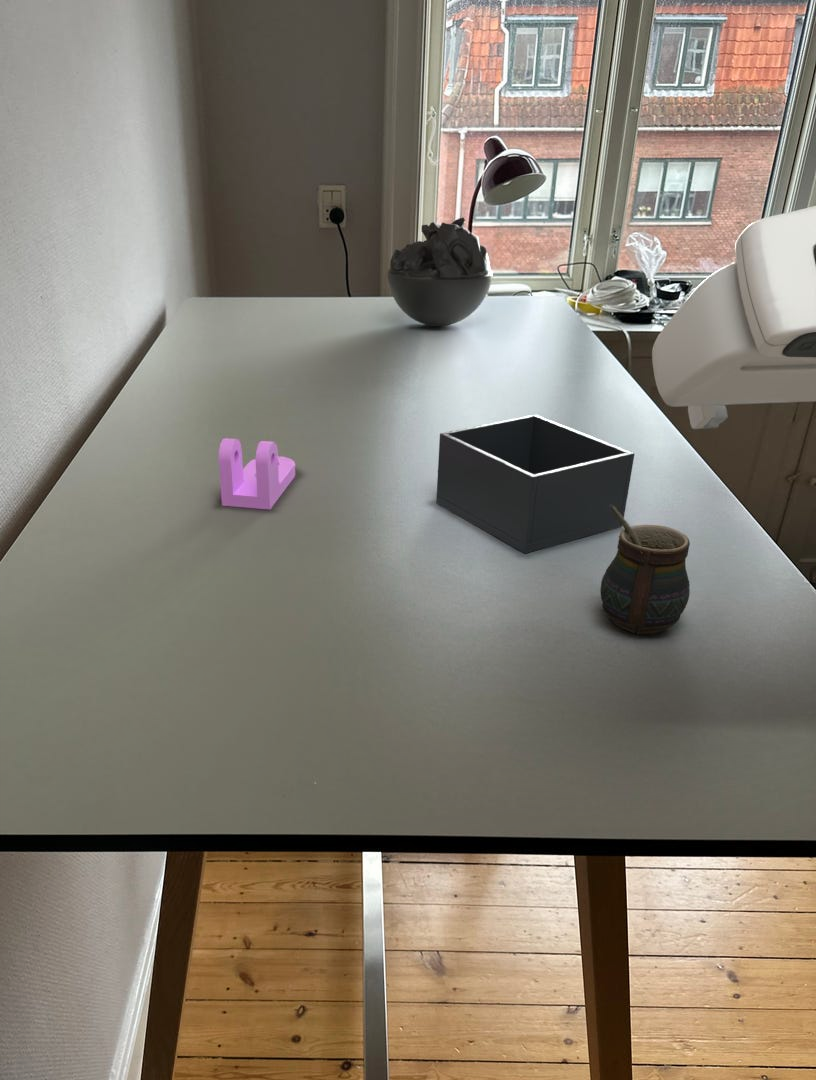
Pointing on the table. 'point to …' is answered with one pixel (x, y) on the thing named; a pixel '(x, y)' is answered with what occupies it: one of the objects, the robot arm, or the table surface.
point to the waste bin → (533, 481)
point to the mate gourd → (646, 578)
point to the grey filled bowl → (441, 275)
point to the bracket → (253, 475)
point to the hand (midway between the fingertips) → (772, 415)
